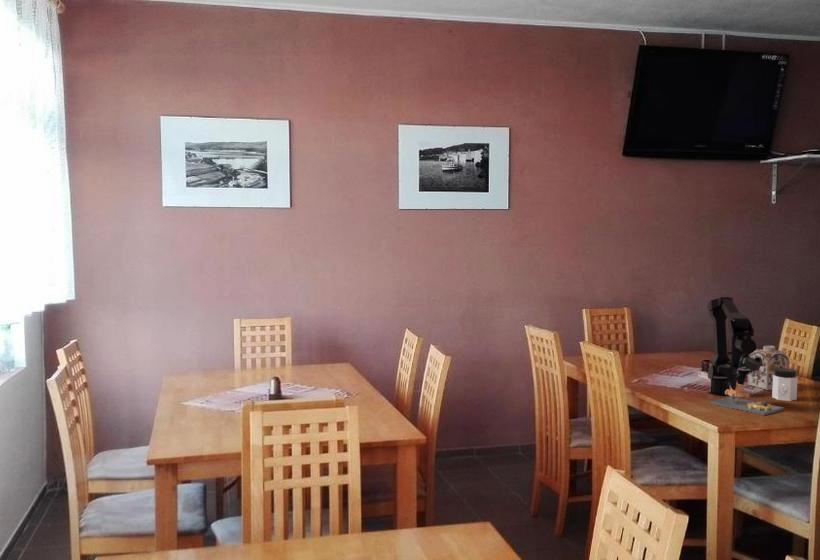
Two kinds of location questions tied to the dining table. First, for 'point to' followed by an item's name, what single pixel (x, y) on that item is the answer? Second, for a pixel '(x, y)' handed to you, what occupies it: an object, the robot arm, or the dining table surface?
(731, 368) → the robot arm
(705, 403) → the dining table surface
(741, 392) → the loose gear
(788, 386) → the jar
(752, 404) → the gear board
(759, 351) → the decorative jar
